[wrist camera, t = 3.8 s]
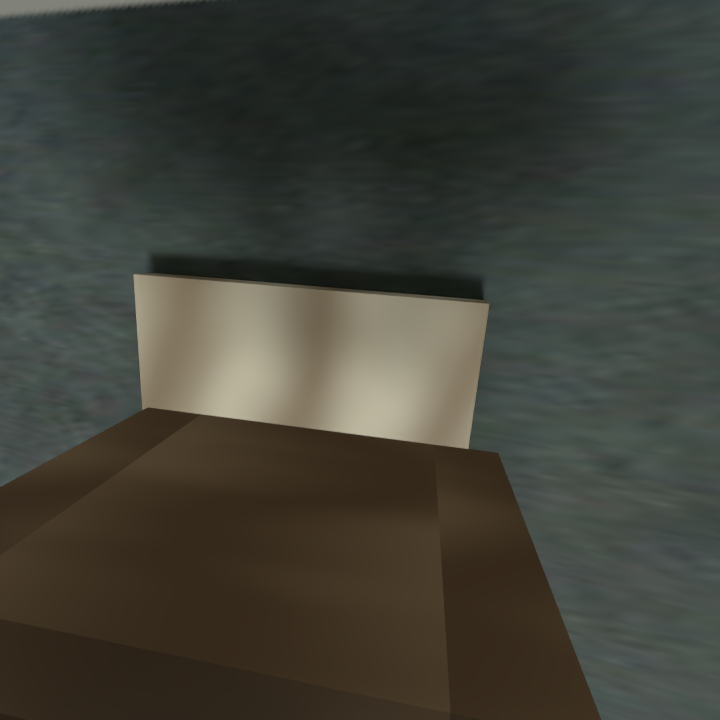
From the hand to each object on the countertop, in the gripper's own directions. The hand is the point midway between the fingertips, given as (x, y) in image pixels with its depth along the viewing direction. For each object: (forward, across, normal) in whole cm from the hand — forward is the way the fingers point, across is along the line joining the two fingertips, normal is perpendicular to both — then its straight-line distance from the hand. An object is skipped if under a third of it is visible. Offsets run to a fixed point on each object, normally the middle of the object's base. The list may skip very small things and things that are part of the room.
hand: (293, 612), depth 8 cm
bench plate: (+12, +3, +5) cm, 13 cm away
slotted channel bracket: (+1, 0, 0) cm, 1 cm away
